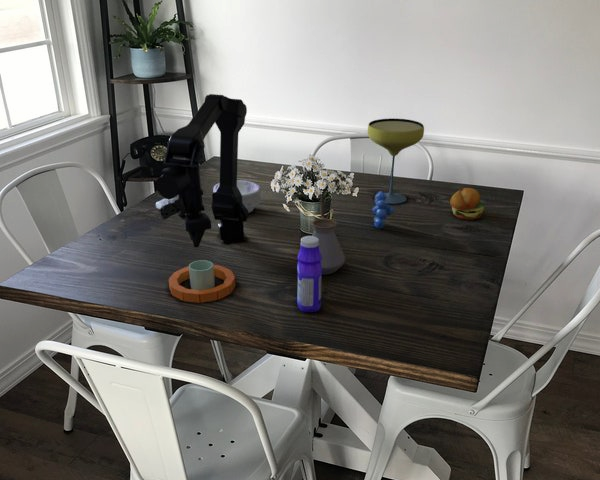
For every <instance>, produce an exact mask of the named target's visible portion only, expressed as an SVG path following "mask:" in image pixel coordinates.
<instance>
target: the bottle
mask: <svg viewBox="0 0 600 480" xmlns="http://www.w3.org/2000/svg"><path fill="white" fill-rule="evenodd" d="M321 259H322V255H321V253H320V251H319V239H318V238H317V237H314V236H312V235H305V236H303V237H301V238H300V249H299V252H298V254H297V260H298V262H297V266H296V271H297V298H296V303H297V306H298V308H299V310H300V311H301V312H303V313H314V312H315V313H316V312H318V311H320V309H321V306H322V275H323V274H322V266H321V261H320V260H321Z"/></svg>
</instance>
